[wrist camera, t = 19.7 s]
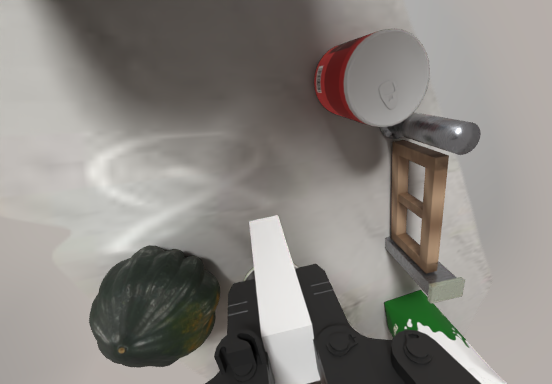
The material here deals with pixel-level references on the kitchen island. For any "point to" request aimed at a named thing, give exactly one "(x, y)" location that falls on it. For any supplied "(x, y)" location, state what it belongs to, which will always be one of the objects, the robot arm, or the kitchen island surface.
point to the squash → (154, 308)
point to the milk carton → (437, 332)
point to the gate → (418, 202)
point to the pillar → (428, 276)
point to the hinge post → (437, 132)
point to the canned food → (374, 78)
